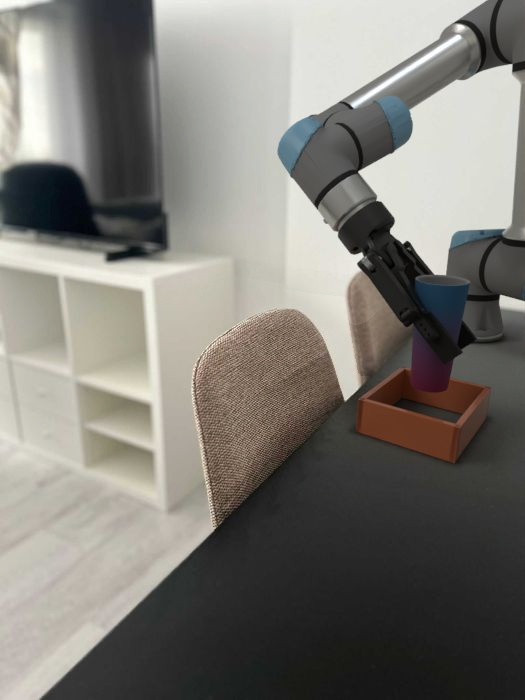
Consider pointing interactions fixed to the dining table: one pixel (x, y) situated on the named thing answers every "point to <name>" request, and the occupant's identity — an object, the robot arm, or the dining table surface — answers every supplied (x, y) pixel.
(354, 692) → the dining table surface
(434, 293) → the cup
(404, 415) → the rectangular frame
